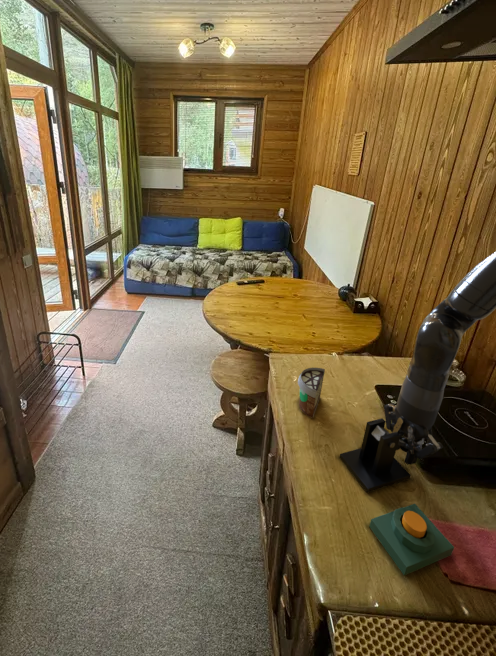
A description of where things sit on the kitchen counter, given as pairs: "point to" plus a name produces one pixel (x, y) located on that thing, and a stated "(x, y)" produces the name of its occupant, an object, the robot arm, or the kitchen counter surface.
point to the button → (414, 524)
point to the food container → (310, 389)
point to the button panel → (410, 540)
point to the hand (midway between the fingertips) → (401, 455)
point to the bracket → (376, 460)
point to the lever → (381, 431)
